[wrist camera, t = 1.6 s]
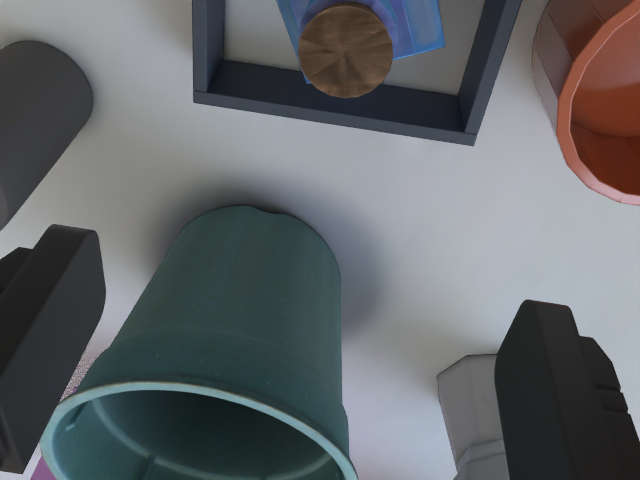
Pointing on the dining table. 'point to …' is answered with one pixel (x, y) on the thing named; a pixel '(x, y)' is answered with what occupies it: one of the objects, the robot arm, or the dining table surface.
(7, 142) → the bottle
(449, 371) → the coffee maker
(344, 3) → the perfume bottle
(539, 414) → the robot arm
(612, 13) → the round terracotta bowl
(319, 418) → the flower pot
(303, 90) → the tray
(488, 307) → the dining table surface
